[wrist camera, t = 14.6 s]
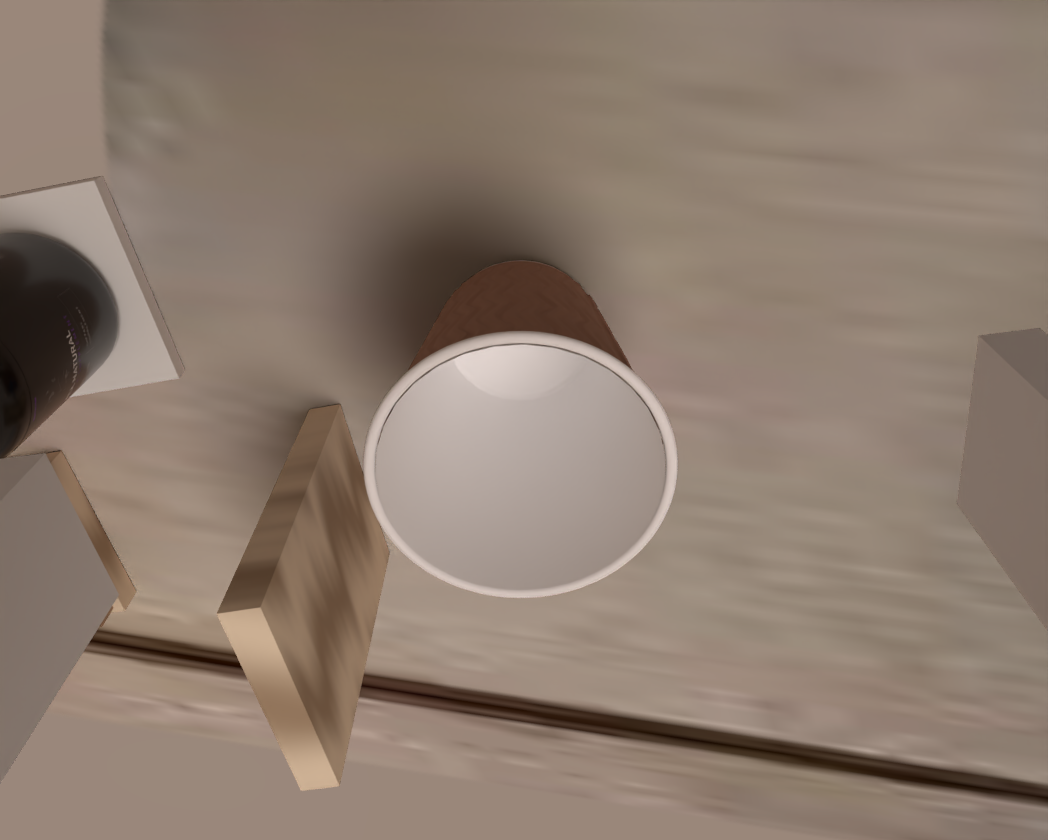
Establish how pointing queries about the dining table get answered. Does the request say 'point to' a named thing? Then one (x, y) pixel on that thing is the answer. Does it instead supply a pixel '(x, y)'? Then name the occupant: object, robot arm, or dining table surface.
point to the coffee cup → (520, 442)
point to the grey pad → (102, 275)
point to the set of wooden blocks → (295, 594)
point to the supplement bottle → (47, 331)
